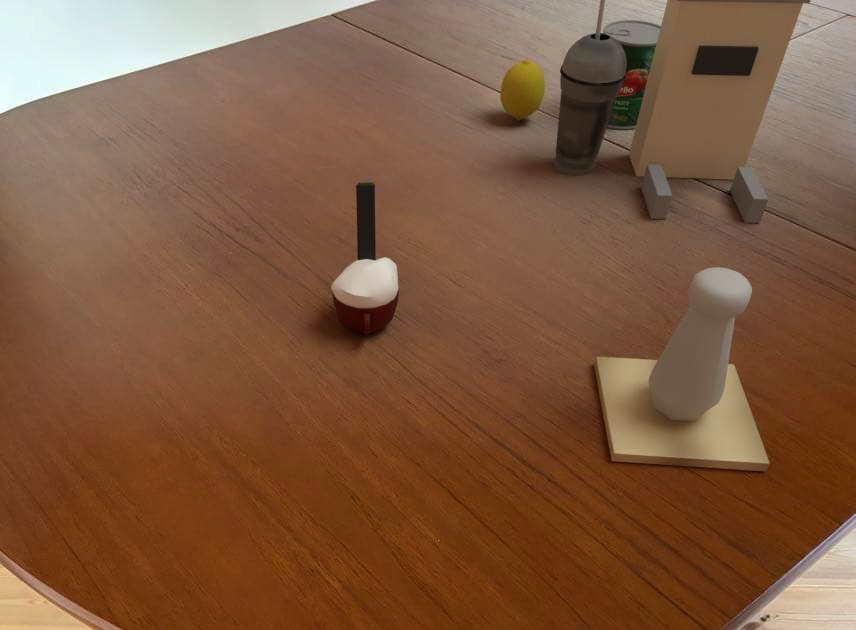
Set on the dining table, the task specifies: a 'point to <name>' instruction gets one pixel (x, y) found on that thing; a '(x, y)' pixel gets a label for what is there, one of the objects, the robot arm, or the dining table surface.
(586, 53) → the beverage cup
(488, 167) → the dining table surface
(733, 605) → the dining table surface
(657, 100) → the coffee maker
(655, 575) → the dining table surface
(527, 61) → the lemon
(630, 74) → the canned tomato
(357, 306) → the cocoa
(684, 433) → the plate
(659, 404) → the salt shaker
